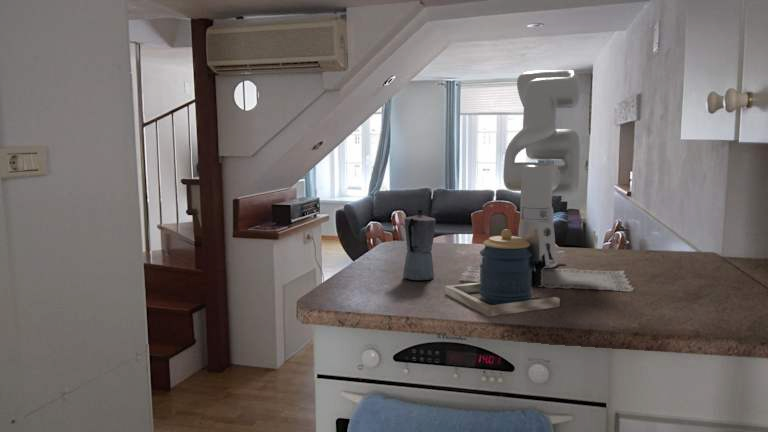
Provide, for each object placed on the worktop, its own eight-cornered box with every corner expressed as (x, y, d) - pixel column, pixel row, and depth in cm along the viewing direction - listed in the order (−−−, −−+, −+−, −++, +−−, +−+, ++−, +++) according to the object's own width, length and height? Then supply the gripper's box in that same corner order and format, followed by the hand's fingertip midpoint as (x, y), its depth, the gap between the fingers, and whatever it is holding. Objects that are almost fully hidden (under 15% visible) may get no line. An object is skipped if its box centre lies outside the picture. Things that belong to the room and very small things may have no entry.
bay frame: (509, 286, 152) (509, 278, 152) (559, 306, 133) (559, 298, 132) (445, 293, 145) (445, 286, 145) (488, 316, 126) (488, 307, 126)
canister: (469, 295, 143) (469, 227, 141) (511, 290, 148) (512, 224, 146) (498, 309, 131) (499, 235, 129) (543, 302, 136) (545, 231, 134)
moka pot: (441, 273, 167) (441, 207, 165) (428, 286, 153) (428, 213, 150) (410, 271, 170) (410, 206, 168) (394, 283, 156) (394, 212, 153)
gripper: (567, 216, 134) (565, 291, 137) (530, 210, 148) (528, 278, 151) (541, 218, 132) (539, 294, 134) (506, 211, 145) (504, 280, 148)
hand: (533, 285), depth 142 cm, fingers closed
